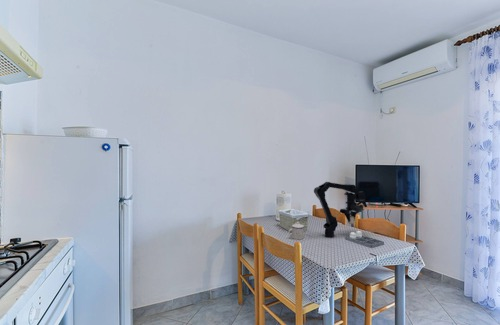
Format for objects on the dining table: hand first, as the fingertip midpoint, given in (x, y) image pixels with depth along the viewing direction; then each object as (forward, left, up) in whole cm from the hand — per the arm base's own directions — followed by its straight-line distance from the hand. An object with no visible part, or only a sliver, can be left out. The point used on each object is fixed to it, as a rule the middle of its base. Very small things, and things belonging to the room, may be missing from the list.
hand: (351, 221), depth 184 cm
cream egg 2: (-2, -8, -10) cm, 13 cm away
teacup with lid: (-38, +19, -12) cm, 44 cm away
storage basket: (-23, +40, -12) cm, 48 cm away
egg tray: (-5, -14, -12) cm, 19 cm away
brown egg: (0, 0, -1) cm, 1 cm away
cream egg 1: (-8, -8, -10) cm, 15 cm away
